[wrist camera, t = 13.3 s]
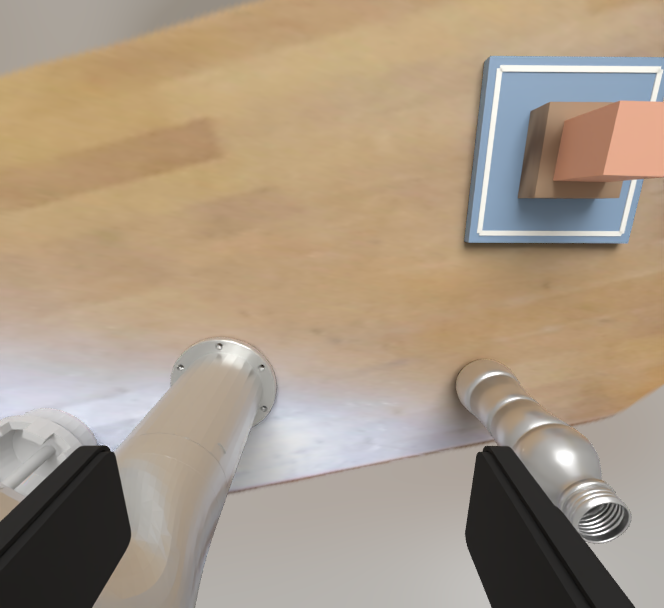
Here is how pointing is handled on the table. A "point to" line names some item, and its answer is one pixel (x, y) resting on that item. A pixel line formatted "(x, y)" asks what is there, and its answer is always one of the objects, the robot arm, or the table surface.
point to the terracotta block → (613, 144)
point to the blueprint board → (510, 139)
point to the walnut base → (544, 155)
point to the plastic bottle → (545, 449)
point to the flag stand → (38, 446)
